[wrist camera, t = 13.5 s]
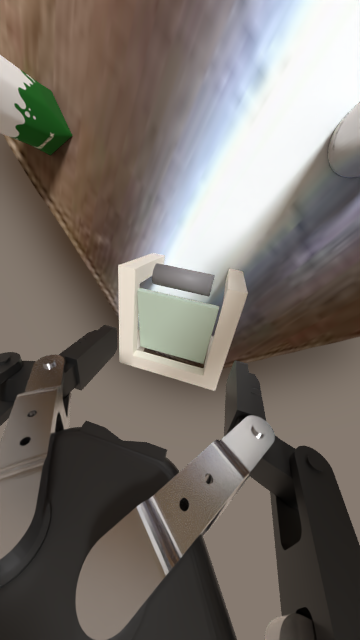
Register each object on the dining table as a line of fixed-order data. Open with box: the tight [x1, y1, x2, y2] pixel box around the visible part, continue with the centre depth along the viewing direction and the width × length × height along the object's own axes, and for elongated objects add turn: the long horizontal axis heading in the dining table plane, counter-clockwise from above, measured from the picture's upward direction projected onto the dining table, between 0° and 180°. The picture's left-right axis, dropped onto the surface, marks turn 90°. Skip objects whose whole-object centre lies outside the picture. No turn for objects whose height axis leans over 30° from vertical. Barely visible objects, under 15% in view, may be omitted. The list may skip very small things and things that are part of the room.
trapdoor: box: [137, 263, 219, 364], centre depth 36 cm, size 18×14×5 cm
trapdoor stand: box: [118, 253, 248, 391], centre depth 41 cm, size 21×21×16 cm
